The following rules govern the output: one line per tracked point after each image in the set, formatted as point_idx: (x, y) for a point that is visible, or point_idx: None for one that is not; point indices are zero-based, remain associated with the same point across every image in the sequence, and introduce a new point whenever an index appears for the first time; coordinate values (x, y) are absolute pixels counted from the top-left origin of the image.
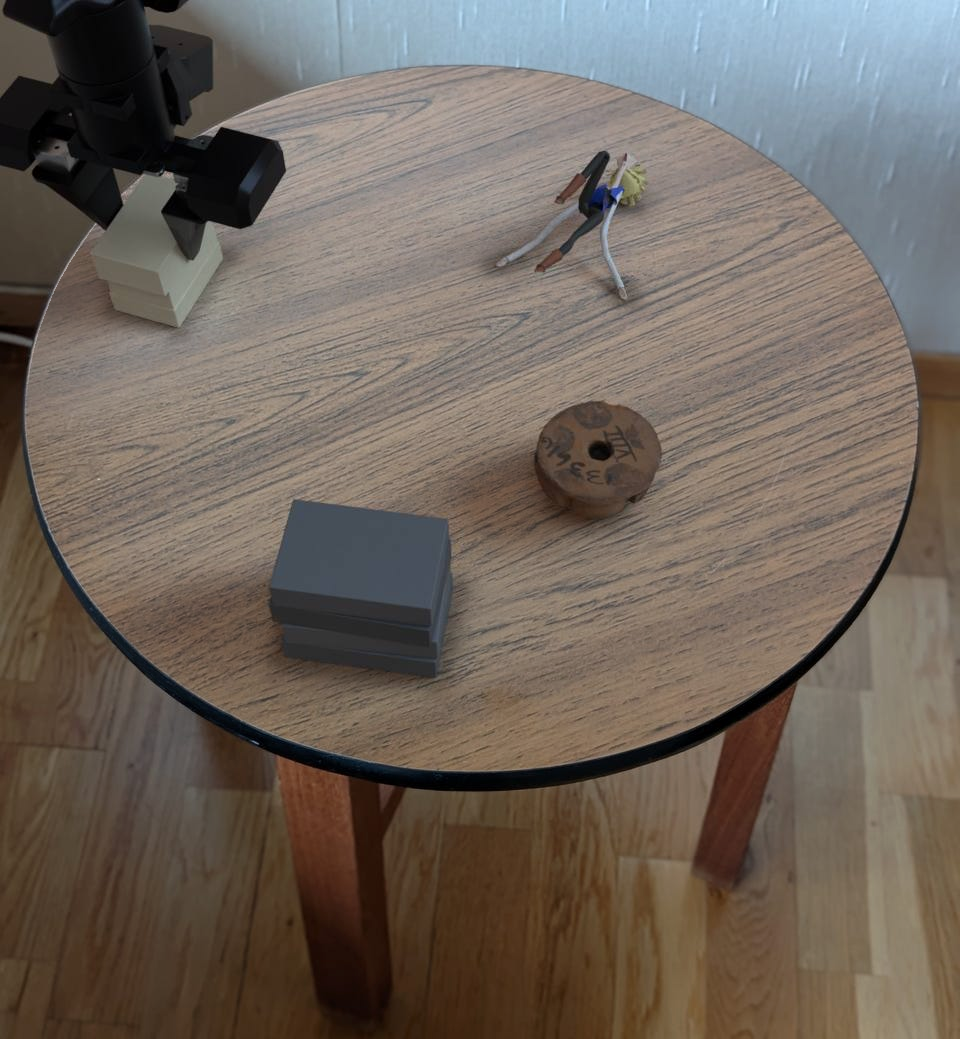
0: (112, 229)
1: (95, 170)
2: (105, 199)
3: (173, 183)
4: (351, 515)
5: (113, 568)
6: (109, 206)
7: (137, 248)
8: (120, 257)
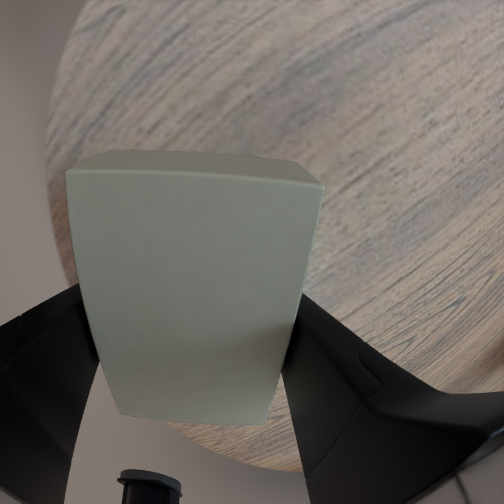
0: (115, 373)
1: (21, 449)
2: (66, 385)
3: (174, 193)
4: None
5: (282, 461)
6: (76, 364)
7: (198, 403)
8: (178, 418)
